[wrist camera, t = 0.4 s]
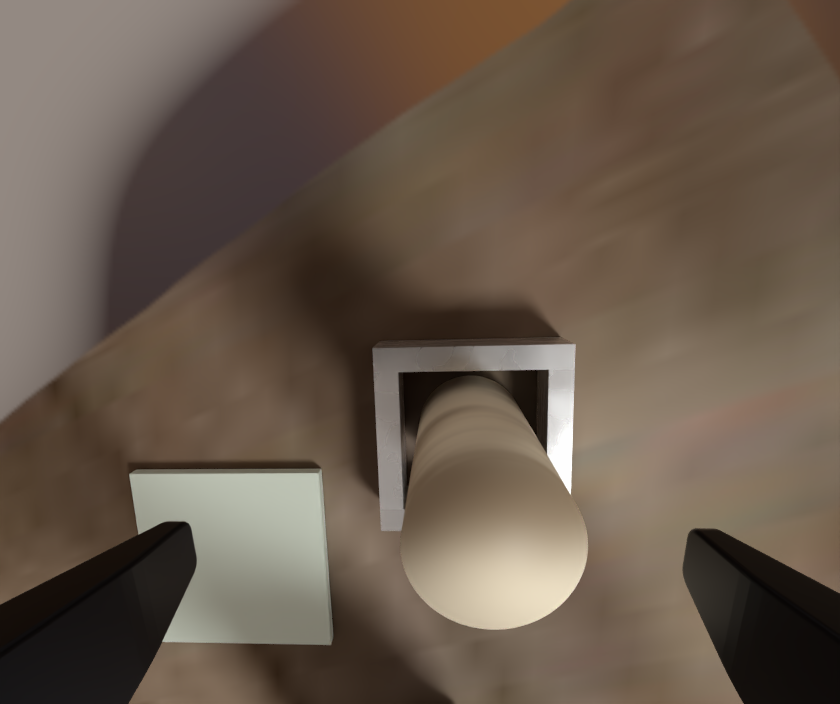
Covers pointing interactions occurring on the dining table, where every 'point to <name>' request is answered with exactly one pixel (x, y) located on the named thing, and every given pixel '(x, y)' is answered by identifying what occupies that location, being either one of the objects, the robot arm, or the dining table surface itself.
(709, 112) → the dining table surface
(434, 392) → the maple peg
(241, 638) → the sage board
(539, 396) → the grey square frame
